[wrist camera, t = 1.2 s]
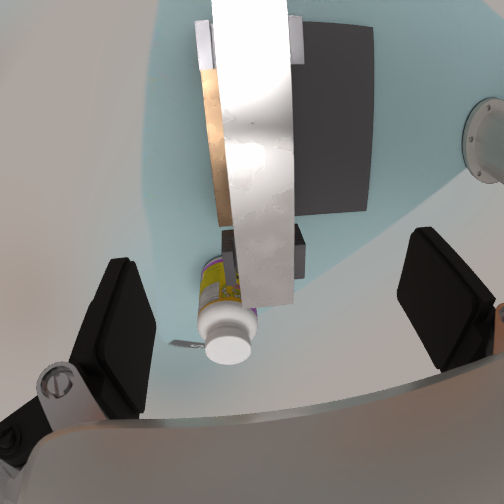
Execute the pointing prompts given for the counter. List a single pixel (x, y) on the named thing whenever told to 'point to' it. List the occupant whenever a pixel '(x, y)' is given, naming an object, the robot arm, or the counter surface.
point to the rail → (258, 143)
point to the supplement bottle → (224, 317)
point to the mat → (333, 118)
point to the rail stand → (217, 143)
